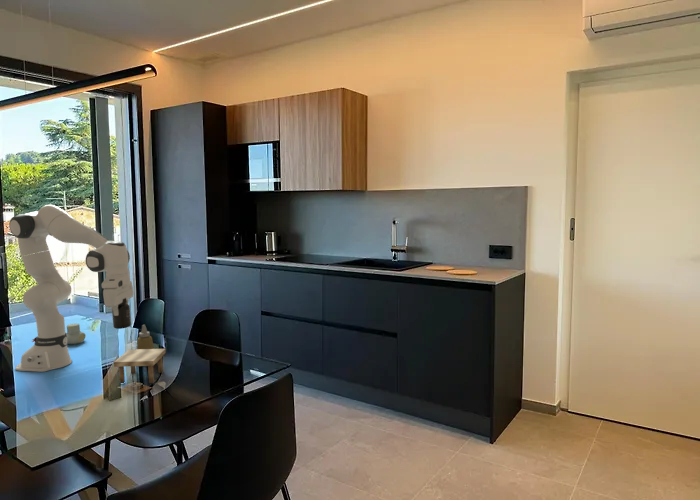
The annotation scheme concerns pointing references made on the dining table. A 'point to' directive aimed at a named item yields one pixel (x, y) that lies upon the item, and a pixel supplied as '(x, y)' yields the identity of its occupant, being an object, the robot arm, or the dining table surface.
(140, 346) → the squeeze bottle
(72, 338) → the air freshener
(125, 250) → the robot arm
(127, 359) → the stool
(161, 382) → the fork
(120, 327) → the supplement bottle
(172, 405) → the dining table surface
